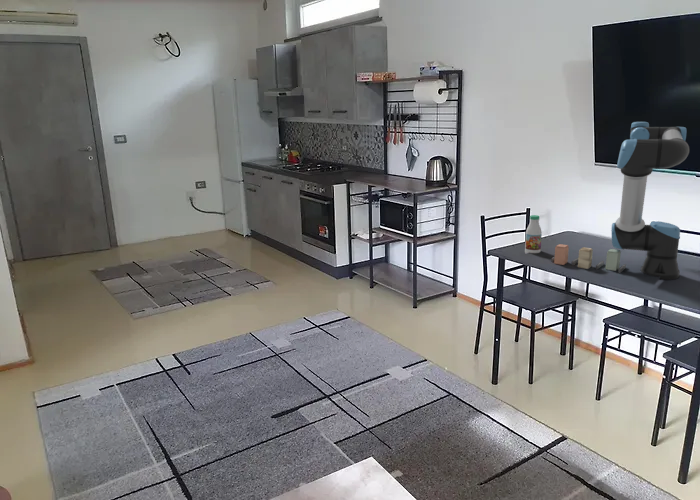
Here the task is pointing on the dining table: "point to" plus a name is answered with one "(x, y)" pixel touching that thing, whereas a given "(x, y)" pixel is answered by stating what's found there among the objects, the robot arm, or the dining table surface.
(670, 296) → the dining table surface
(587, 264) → the birch key
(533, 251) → the milk bottle
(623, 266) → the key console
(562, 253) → the salmon pink block
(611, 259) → the sage green block
